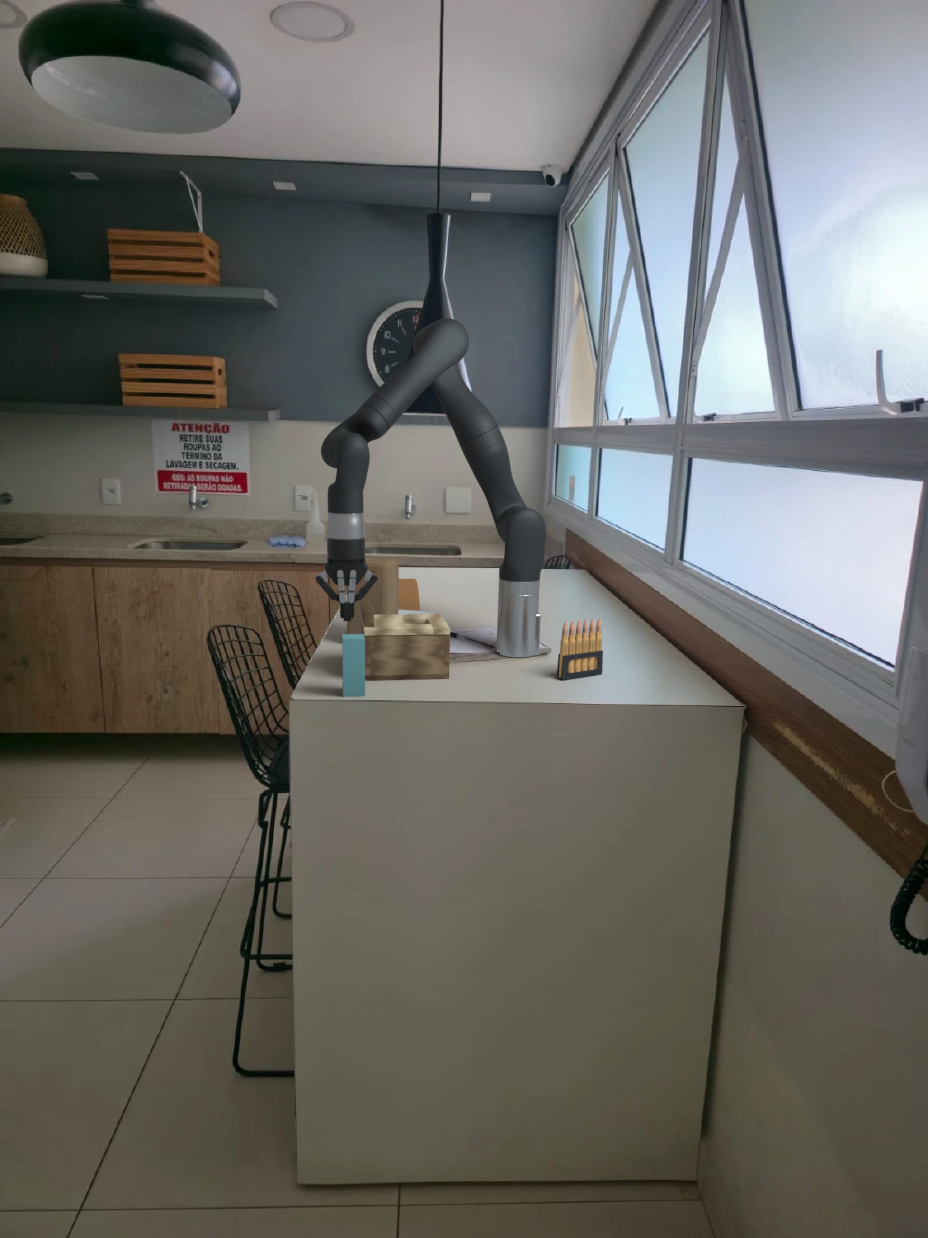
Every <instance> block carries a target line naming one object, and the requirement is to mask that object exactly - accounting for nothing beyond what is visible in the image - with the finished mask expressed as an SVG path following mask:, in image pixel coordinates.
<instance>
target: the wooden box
mask: <svg viewBox="0 0 928 1238" xmlns="http://www.w3.org/2000/svg"><path fill="white" fill-rule="evenodd" d="M361 634H364V631H363V626H362V621H361ZM364 637H365V682H367V681H369V682H370V681H371V682H372V681H373V682H374V681H403V680H404V681H407V680H409V681H410V680H443V679H444V680H445V679H446V680H447V679H448V680H449V679H450V657H451V656H450V655H451V654H450V651H451V633H450V634H445V635H378V636H364Z"/></svg>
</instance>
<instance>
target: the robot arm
mask: <svg viewBox="0 0 928 1238" xmlns="http://www.w3.org/2000/svg"><path fill="white" fill-rule="evenodd" d="M469 344H470V338H469V334H468V331H467V329H466V327H465V326H464V324H462V323H461V322H460V321H459V320H456V319H454V318H449V317H448V318H441V319H438V320H435V321H433V322H431V323H430V324H428V325H426V326H425V327H423V328H421V329H420V330H419V331H418V332H417V333H416V334H415V337H414V339H413V353H414V355H413V356H412V357H411V358H410V359H409V360H408V361H407V362H406V363H405V364H404V366H402V367H401V368H399V370H397V371H396V372H395V373H394V374H392V375H391V376H390V377H389V378H388V379H386V381H384V382H383V383H382V384H381V385H380V386H379V387H377V389H376V390H375V391H373V393H372V394H371V395H370V396H369V397H368V398H367V399H366V400H365V401H364V403H362V404H361V405H360V407H359V408H358V409H357V411H355V412H354V413H353V414H352V415H350V416H348V417H347V418H346V419H344V421H342V422H341V423H339V425H337V426H335V428H333V429H332V430H331V431H330V432H329V433H328V434H327V435H326V437H325V438H324V439H323V442H322V443H321V447H320V455H321V458H322V460H323V462H324V463H325V464H326V465H327V466H328V467H330V468H333V469H336V473H335V480H334V482H332V483H331V484H329V486H328V488H327V519H326V530H325V531H326V549H327V550H326V551H327V552H326V554H327V557H326V558H327V559H326V564H325V566H324V570H323V571H322V572H320V573H319V574H316V575H315V581H316V582H317V584H318V586H320V588H321V589H322V590H323V591H324V593H326V595H327V596H328V597H329V598H330V600H331V601H336V602H338V603H339V616H340V619H343V622H347V621H351V618H354V603H355V602H356V601H358V600H362V599H363V598H364V596H365V595H366V594H367V592H368V591H369V590H370V589H371V587H372V586H373V585H374V584H375V582H376V581H377V579H378V578H377V575H376V574H373V573H372V572H370V571H369V570H368V567H367V564H366V562H365V556H366V522H365V516H364V515H365V512H364V489H365V486H366V481H367V477H368V473H369V466H370V459H371V458H370V457H371V455H370V454H371V453H370V449H369V445H368V444H369V443H371V442H372V441H377V440H378V439H380V438H382V437H383V436H384V435H386V433H387V432H388V431H390V429H391V428H392V427H393V426H394V424H396V423H397V421H398V420H399V419H400V418H401V417H402V416H403V415H404V413H406V411H407V410H408V409H409V408H410V406H411V405H412V404H413V403H414V402H415V401H416V400H417V399H418V397H419V396H421V394H422V393H424V392H425V390H426V389H427V388H428V387H429V386H431V388H432V389H433V391H434V392H435V394H436V396H437V398H438V400H439V403H440V404H441V407H442V409H443V411H444V414H445V415H446V418H447V420H448V422H449V425H450V426H451V429H452V430H453V432H454V435H455V437H456V441H457V442H458V445H459V447H460V449H461V451H462V453H463V456H464V457H465V460H466V462H467V464H468V465H469V468H470V471H471V472H472V473H473V475H474V476H473V477H474V478H475V480H476V481H477V483H478V485H479V487H480V489H481V490H482V492H483V494H484V497H485V499H486V502H487V505H488V507H489V510H490V514H491V516H492V519H493V522H494V525H495V528H496V531H497V534H498V536H499V537H500V539H501V540H502V542H503V543H504V554H503V556H504V557H503V561H502V563H501V564H500V566H499V570H498V592H497V593H498V594H497V596H498V597H497V598H498V599H497V620H496V621H497V624H496V628H497V629H496V643H495V644H496V647H495V648H496V649H497V650H498V652H499V653H500V654H499V655H500V656H504V657H509V658H530V657H533V656H539V655H540V641H541V624H542V623H541V620H542V619H541V618H542V615H541V613H540V612H539V607H540V585H541V584H540V581H541V572H542V569H543V567H544V562H545V551H546V541H547V540H546V537H547V530H546V529H547V528H546V522H545V519H544V517H543V516H542V514H541V513H540V512H538V511H537V510H535V509H533V508H531V507H528V506H527V504H526V502H524V500H523V498H522V496H521V494H520V492H519V490H518V487H517V484H515V481H514V478H513V473H512V467H511V461H510V454H509V450H508V446H507V444H506V441H505V438H504V436H503V433H502V431H501V429H500V427H499V424H498V422H497V421H496V418H495V416H494V415H493V414H492V413H491V411H490V410H489V408H488V407H487V406H486V405H485V404H484V403H483V402H482V401H481V399H479V398H478V397H477V396H476V395H475V394H474V393H473V391H471V389H470V388H469V387H468V385H467V383H466V382H465V380H464V378H463V375H462V374H461V371H460V369H459V366H458V363H459V362H460V361H462V360H463V358H464V357H465V356H466V355H467V353H468V351H469V346H470V345H469ZM365 574H366V577H365V581H366V583H365V584H364V585H363V586H362V588H361V589H360V590H359V592H358V593H356V594H355V585H357V584H358V583H359V582H360V581H361V579H362V578H363V576H364V575H365ZM327 575H328V576H327ZM328 577H329V578H330V579H331V580H332V582H333V583H334V585H336V586H337V587H338V593H336V592H335V590H334V589H333V587H331V585H330V584H329V583H328V581H329V578H328ZM347 585H348V586H349V587H348V602H347V596H346V589H345V588H346V587H347ZM345 586H346V587H345Z"/></svg>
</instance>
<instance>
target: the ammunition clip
mask: <svg viewBox="0 0 928 1238" xmlns="http://www.w3.org/2000/svg"><path fill="white" fill-rule="evenodd" d="M562 625H563V626H562V631H561V633H562V634H561V639H560V647H559V653H558V654H557V655H558V659H557V669H556V678H557V679H560V680H562V681H565V680H571V679H577V678H584V677H591V676H597V675H603V662H604V661H603V660H604V659H603V657H604V650H603V626H602V625H603V624H602V619H601V617H598V619H597V622H595V619H594V618H592V619H591V620H590V624H589V623H588V619H587V618H586V619H584V622H583V625H582V622H581V620H580V619H578V621H577V623H576V627H575V621H574V620H571V622H570V625H569V627H568V623H567V621H564V623H563V624H562Z"/></svg>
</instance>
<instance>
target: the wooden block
mask: <svg viewBox="0 0 928 1238" xmlns="http://www.w3.org/2000/svg"><path fill="white" fill-rule="evenodd" d="M365 562H366V564H367V567H368V570H369V571H370V572H372V573H373V574H376V575H377V578H378V579H377V581H376V582H375V584H374V585H373V586H372V587H371V589H370V590H369V591H368V592H367V594H366V595H365V596H364V598H363V599H362V600H358V601H356V602H355V603H354V618H351V621H346V634H361V615H362V603H372V607H373V610H374V615H393V614H398V610H399V605H398V596H399V579H400V577H399V576H400V575H399V574H400V571H399V570H400V567H399V566H400V565H399V564H400V561H399V560H398V558H396V557H390V556H389V557H388V556H369V555H368V556H367V555H365ZM365 577H366V574H365V575H364V576H363V578H362V579H361V581H360V582H359V583H358V584H357V585H355V594H356V593H358V592H359V590H360V589H361V588H362V586H363V585H364V584H365V583H366V581H365ZM348 587H349V586H348V585H346V602H348Z"/></svg>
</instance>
